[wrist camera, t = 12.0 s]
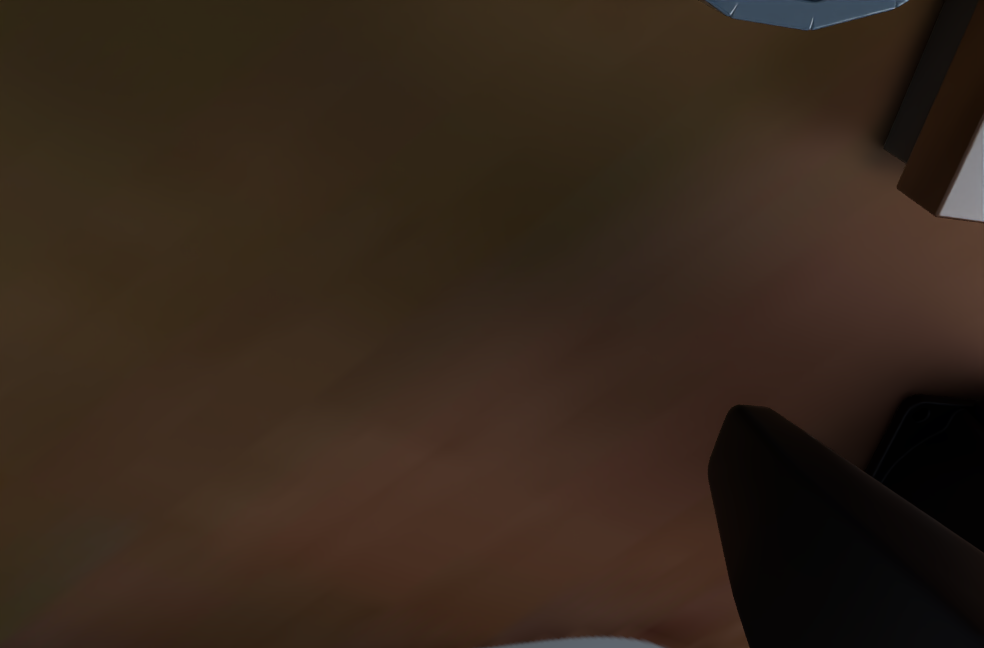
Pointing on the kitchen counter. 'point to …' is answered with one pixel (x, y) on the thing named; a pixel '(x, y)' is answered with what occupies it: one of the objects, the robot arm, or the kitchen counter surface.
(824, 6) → the cup
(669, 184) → the kitchen counter surface
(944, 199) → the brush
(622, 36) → the kitchen counter surface
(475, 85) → the kitchen counter surface
